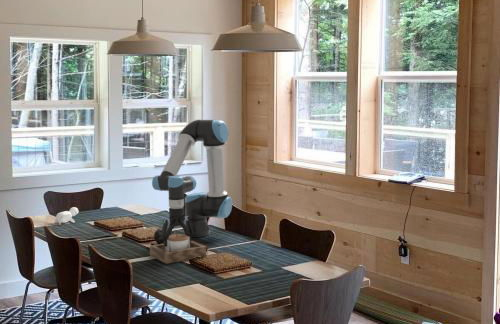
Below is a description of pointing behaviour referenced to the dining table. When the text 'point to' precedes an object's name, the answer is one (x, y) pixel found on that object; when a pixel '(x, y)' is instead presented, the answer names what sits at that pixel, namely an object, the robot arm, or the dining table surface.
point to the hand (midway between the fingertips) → (177, 250)
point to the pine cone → (157, 236)
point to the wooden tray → (177, 253)
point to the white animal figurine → (66, 216)
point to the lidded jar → (178, 242)
